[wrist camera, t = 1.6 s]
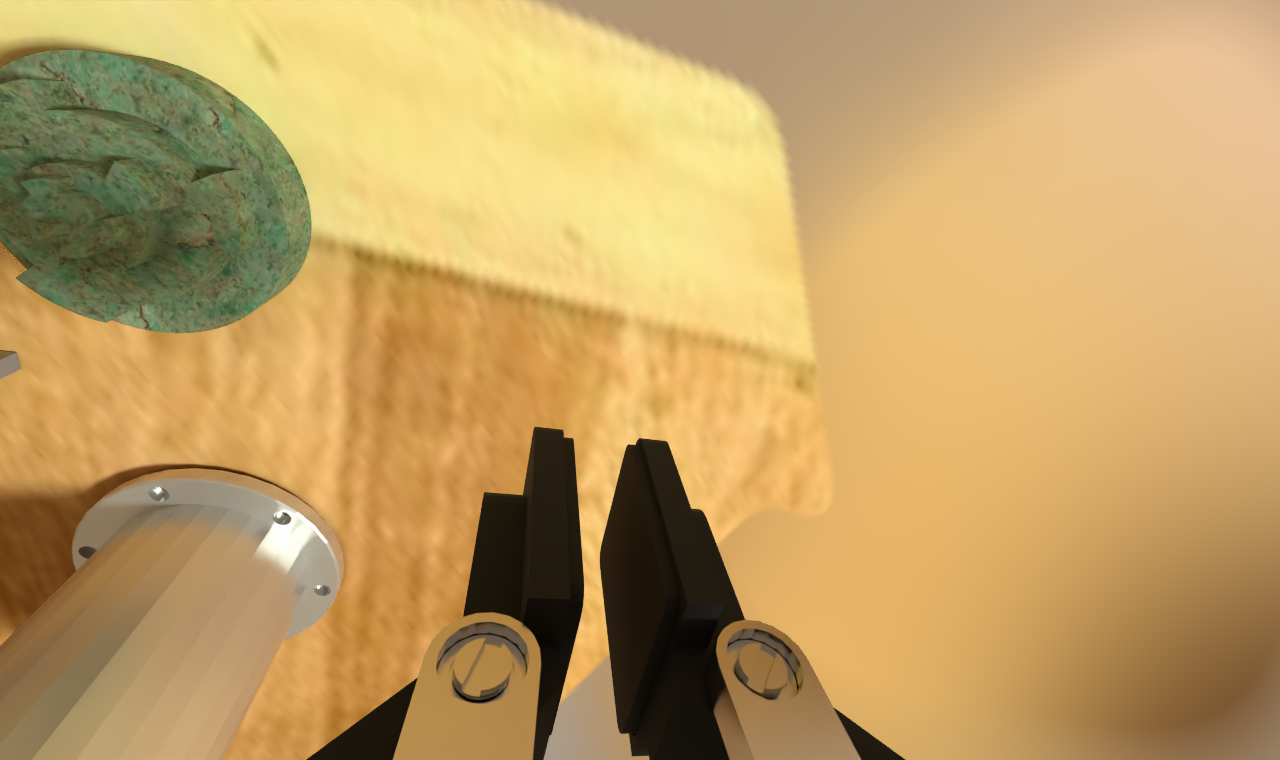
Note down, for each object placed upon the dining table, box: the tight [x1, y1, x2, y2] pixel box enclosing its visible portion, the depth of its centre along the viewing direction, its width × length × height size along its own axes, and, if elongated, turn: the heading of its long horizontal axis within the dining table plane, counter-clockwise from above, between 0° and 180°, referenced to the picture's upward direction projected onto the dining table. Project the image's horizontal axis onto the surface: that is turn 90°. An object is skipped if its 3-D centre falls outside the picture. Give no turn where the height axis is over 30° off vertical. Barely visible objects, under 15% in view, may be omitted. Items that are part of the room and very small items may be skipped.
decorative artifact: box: [0, 49, 311, 333], centre depth 19 cm, size 10×7×10 cm
